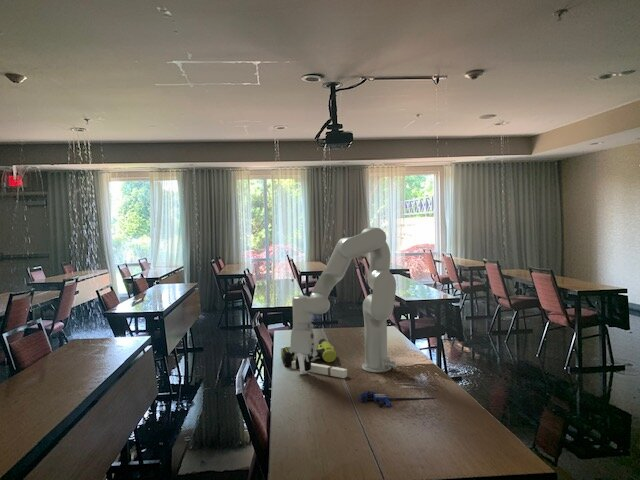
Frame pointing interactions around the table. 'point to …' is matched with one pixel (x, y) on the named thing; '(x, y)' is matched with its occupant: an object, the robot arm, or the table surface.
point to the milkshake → (302, 363)
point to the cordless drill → (322, 349)
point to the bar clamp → (382, 398)
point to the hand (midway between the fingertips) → (303, 369)
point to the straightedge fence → (325, 370)
